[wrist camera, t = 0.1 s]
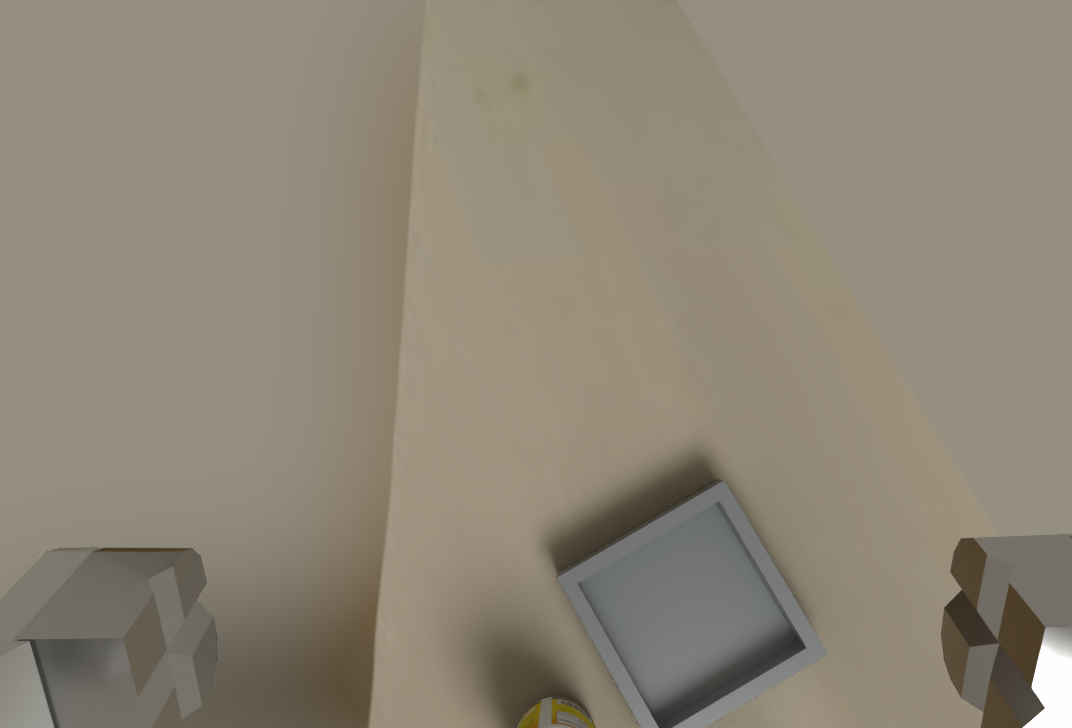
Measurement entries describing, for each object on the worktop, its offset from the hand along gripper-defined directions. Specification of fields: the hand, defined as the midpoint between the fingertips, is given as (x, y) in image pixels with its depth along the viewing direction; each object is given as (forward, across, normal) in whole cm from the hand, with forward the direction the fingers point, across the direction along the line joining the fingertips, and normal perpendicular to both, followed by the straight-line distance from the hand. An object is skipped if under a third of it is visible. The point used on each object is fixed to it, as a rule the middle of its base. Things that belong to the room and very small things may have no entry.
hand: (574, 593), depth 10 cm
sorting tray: (+44, +8, -33) cm, 55 cm away
